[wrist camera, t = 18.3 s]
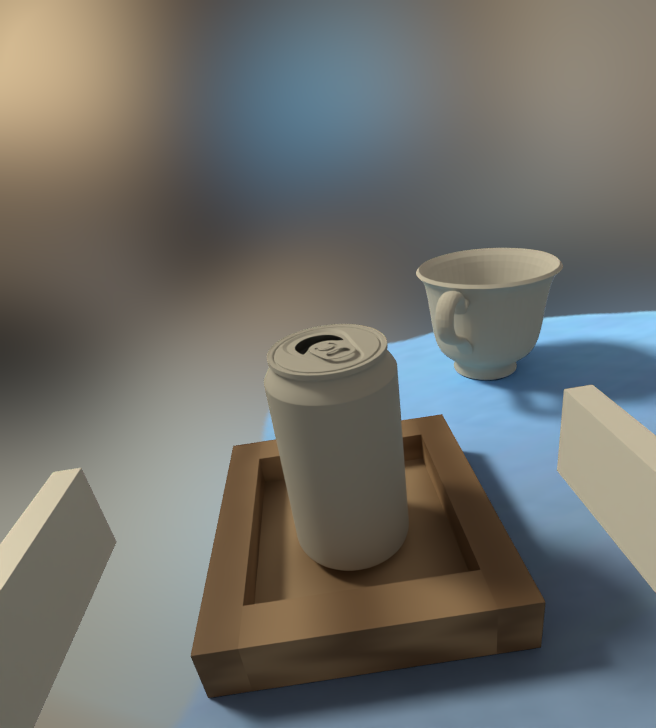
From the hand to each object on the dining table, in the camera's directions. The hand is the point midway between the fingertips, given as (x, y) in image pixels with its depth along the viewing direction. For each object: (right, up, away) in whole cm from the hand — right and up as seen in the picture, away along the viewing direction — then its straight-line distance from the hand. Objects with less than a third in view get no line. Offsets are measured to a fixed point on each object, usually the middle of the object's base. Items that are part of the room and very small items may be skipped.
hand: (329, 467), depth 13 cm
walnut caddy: (+2, -8, +15) cm, 17 cm away
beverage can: (+2, -7, +14) cm, 16 cm away
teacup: (+14, +2, +31) cm, 34 cm away
